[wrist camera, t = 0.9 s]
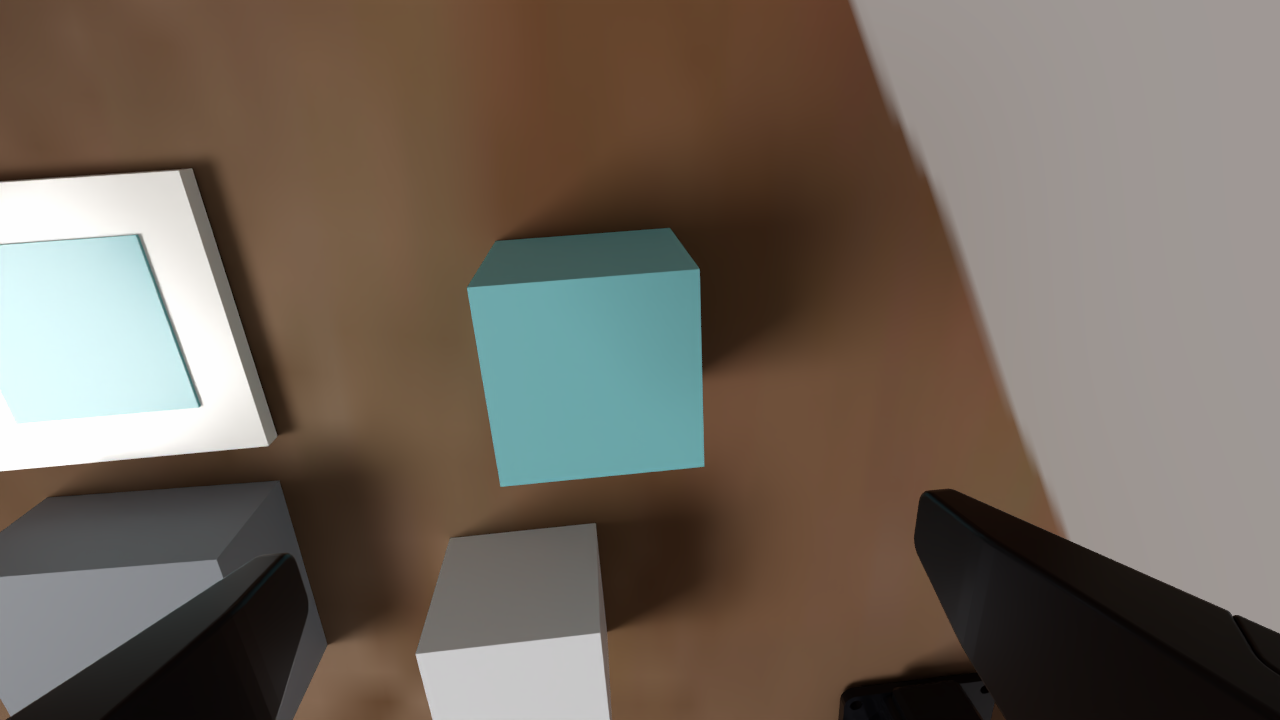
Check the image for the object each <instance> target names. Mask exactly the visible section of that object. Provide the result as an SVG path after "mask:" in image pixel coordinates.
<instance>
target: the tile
mask: <svg viewBox="0 0 1280 720" xmlns="http://www.w3.org/2000/svg"><path fill="white" fill-rule="evenodd" d="M276 437H277V433H276V430H275V427H274V424H273V421H272V417H271V414H270V411H269V408H268V405H267V402H266V399H265V395H264V392H263V389H262V386H261V383H260V380H259V377H258V374H257V370H256V367H255V364H254V361H253V358H252V355H251V352H250V348H249V345H248V342H247V339H246V336H245V333H244V330H243V326H242V323H241V320H240V317H239V314H238V311H237V308H236V304H235V301H234V298H233V295H232V292H231V289H230V286H229V282H228V279H227V276H226V273H225V270H224V267H223V264H222V261H221V257H220V254H219V251H218V248H217V245H216V242H215V239H214V235H213V232H212V229H211V226H210V223H209V220H208V217H207V213H206V210H205V207H204V204H203V201H202V198H201V195H200V191H199V188H198V185H197V182H196V179H195V176H194V173H193V170H192V168H189V169H175V170H160V171H145V172H130V173H115V174H100V175H85V176H70V177H55V178H40V179H26V180H11V181H0V471H7V470H18V469H29V468H39V467H50V466H61V465H72V464H82V463H93V462H104V461H114V460H125V459H136V458H146V457H157V456H168V455H179V454H189V453H200V452H211V451H221V450H232V449H243V448H253V447H264V446H269V445H270V444H271V443H272V442H273V441H274V440H275V439H276Z"/></svg>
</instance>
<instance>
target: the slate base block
mask: <svg viewBox="0 0 1280 720" xmlns="http://www.w3.org/2000/svg"><path fill="white" fill-rule="evenodd" d="M275 553H289V554H291V555H293V556H294V558H295V559H296V562H297V564H298V568H299V571H300V574H301V577H302V580H303V583H304V586H305V589H306V592H307V595H308V600H309V612H308V617H307V621H306V624H305V627H304V631H303V634H302V637H301V640H300V644H299V647H298V650H297V654H296V657H295V660H294V664H293V667H292V670H291V674H290V677H289V680H288V684H287V687H286V690H285V694H284V697H283V700H282V704H281V707H280V710H279V713H278V716H277V719H276V720H293V718H294V716H295V714H296V711H297V709H298V707H299V705H300V703H301V701H302V699H303V696H304V694H305V692H306V690H307V688H308V686H309V683H310V681H311V679H312V677H313V675H314V673H315V671H316V668H317V666H318V664H319V662H320V660H321V658H322V656H323V653H324V651H325V649H326V647H327V642H326V638H325V635H324V631H323V628H322V624H321V621H320V618H319V614H318V611H317V607H316V604H315V601H314V597H313V594H312V590H311V587H310V583H309V580H308V577H307V573H306V570H305V566H304V563H303V560H302V556H301V553H300V549H299V546H298V542H297V539H296V536H295V532H294V529H293V525H292V522H291V519H290V515H289V512H288V508H287V505H286V501H285V498H284V495H283V491H282V488H281V484H280V481H267V482H253V483H239V484H226V485H212V486H199V487H185V488H171V489H158V490H144V491H130V492H117V493H103V494H89V495H76V496H62V497H48V498H46V499H45V500H43V501H42V502H40V503H39V504H38V505H36V506H35V507H34V508H32V509H31V510H30V511H28V512H27V513H26V514H24V515H23V516H22V517H20V518H19V519H18V520H16V521H15V522H13V523H12V524H11V525H9V526H8V527H7V528H5V529H4V530H3V531H1V532H0V699H1V700H2V702H3V704H4V706H5V707H6V709H7V711H8V712H9V714H10V716H12V715H14V714H15V713H17V712H19V711H20V710H22V709H23V708H25V707H26V706H28V705H29V704H31V703H32V702H34V701H35V700H37V699H39V698H40V697H42V696H43V695H45V694H46V693H48V692H49V691H51V690H52V689H54V688H55V687H57V686H58V685H60V684H62V683H63V682H65V681H66V680H68V679H69V678H71V677H72V676H74V675H75V674H77V673H78V672H80V671H82V670H83V669H85V668H86V667H88V666H89V665H91V664H92V663H94V662H95V661H97V660H98V659H100V658H101V657H103V656H105V655H106V654H108V653H109V652H111V651H112V650H114V649H115V648H117V647H118V646H120V645H121V644H123V643H125V642H126V641H128V640H129V639H131V638H132V637H134V636H135V635H137V634H138V633H140V632H141V631H143V630H145V629H146V628H148V627H149V626H151V625H152V624H154V623H155V622H157V621H158V620H160V619H161V618H163V617H164V616H166V615H168V614H169V613H171V612H172V611H174V610H175V609H177V608H178V607H180V606H181V605H183V604H184V603H186V602H188V601H189V600H191V599H192V598H194V597H195V596H197V595H198V594H200V593H201V592H203V591H204V590H206V589H207V588H209V587H211V586H212V585H214V584H215V583H217V582H218V581H220V580H221V579H223V578H224V577H226V576H227V575H229V574H231V573H232V572H234V571H235V570H237V569H238V568H240V567H241V566H243V565H244V564H246V563H247V562H249V561H251V560H252V559H254V558H255V557H257V556H260V555H265V554H275Z"/></svg>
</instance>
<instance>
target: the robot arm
mask: <svg viewBox="0 0 1280 720" xmlns="http://www.w3.org/2000/svg"><path fill="white" fill-rule="evenodd" d="M914 543H915V548H916V551H917V554H918V556H919V558H920V561H921V563H922V565H923V567H924V569H925V571H926V573H927V575H928V577H929V579H930V582H931V584H932V586H933V588H934V590H935V592H936V594H937V596H938V598H939V600H940V603H941V605H942V607H943V609H944V611H945V613H946V615H947V617H948V619H949V621H950V624H951V626H952V628H953V630H954V632H955V634H956V636H957V638H958V640H959V642H960V644H961V646H962V648H963V649H964V651H965V653H966V654H967V656H968V658H969V660H970V661H971V663H972V665H973V666H974V668H975V670H976V671H977V673H971V674H963V675H955V676H947V677H939V678H931V679H923V680H914V681H906V682H898V683H890V684H882V685H874V686H866V687H857V688H851V689H848V690H846V691H845V692H844V693H843V694H842V695H841V698H840V708H839V719H838V720H991V716H992V712H993V707H994V703H996V704H997V706H998V708H999V709H1000V711H1001V712H1002V714H1003V716H1004V717H1005V719H1006V720H1280V634H1279V633H1277V632H1275V631H1272V630H1270V629H1268V628H1266V627H1264V626H1261V625H1259V624H1257V623H1254V622H1252V621H1250V620H1248V619H1246V618H1243V617H1241V616H1239V615H1235V616H1232V615H1231V613H1230V612H1229V611H1227V610H1225V609H1223V608H1220V607H1218V606H1215V605H1214V604H1211V603H1209V602H1207V601H1205V600H1202V599H1200V598H1198V597H1195V596H1193V595H1191V594H1189V593H1186V592H1184V591H1182V590H1180V589H1177V588H1175V587H1173V586H1171V585H1168V584H1166V583H1164V582H1162V581H1159V580H1157V579H1155V578H1152V577H1150V576H1148V575H1146V574H1143V573H1141V572H1139V571H1137V570H1134V569H1132V568H1130V567H1128V566H1125V565H1123V564H1121V563H1118V562H1116V561H1114V560H1112V559H1109V558H1107V557H1105V556H1102V555H1100V554H1098V553H1096V552H1094V551H1091V550H1089V549H1087V548H1085V547H1082V546H1080V545H1078V544H1075V543H1073V542H1071V541H1069V540H1066V539H1064V538H1062V537H1060V536H1057V535H1055V534H1053V533H1051V532H1048V531H1046V530H1044V529H1042V528H1039V527H1037V526H1035V525H1033V524H1030V523H1028V522H1026V521H1023V520H1021V519H1019V518H1017V517H1014V516H1012V515H1010V514H1008V513H1005V512H1003V511H1001V510H999V509H996V508H994V507H992V506H990V505H987V504H985V503H983V502H981V501H978V500H976V499H974V498H971V497H969V496H967V495H965V494H962V493H960V492H958V491H956V490H953V489H939V490H929V491H925V492H924V493H923V494H922V495H921V497H920V500H919V505H918V512H917V519H916V527H915V534H914ZM308 612H309V600H308V595H307V592H306V589H305V586H304V583H303V580H302V577H301V574H300V571H299V568H298V564H297V562H296V559H295V558H294V556H293V555H291V554H289V553H275V554H265V555H260V556H257V557H255V558H254V559H252V560H251V561H249V562H247V563H246V564H244V565H243V566H241V567H240V568H238V569H237V570H235V571H234V572H232V573H231V574H229V575H227V576H226V577H224V578H223V579H221V580H220V581H218V582H217V583H215V584H214V585H212V586H211V587H209V588H207V589H206V590H204V591H203V592H201V593H200V594H198V595H197V596H195V597H194V598H192V599H191V600H189V601H188V602H186V603H184V604H183V605H181V606H180V607H178V608H177V609H175V610H174V611H172V612H171V613H169V614H168V615H166V616H164V617H163V618H161V619H160V620H158V621H157V622H155V623H154V624H152V625H151V626H149V627H148V628H146V629H145V630H143V631H141V632H140V633H138V634H137V635H135V636H134V637H132V638H131V639H129V640H128V641H126V642H125V643H123V644H121V645H120V646H118V647H117V648H115V649H114V650H112V651H111V652H109V653H108V654H106V655H105V656H103V657H101V658H100V659H98V660H97V661H95V662H94V663H92V664H91V665H89V666H88V667H86V668H85V669H83V670H82V671H80V672H78V673H77V674H75V675H74V676H72V677H71V678H69V679H68V680H66V681H65V682H63V683H62V684H60V685H58V686H57V687H55V688H54V689H52V690H51V691H49V692H48V693H46V694H45V695H43V696H42V697H40V698H39V699H37V700H35V701H34V702H32V703H31V704H29V705H28V706H26V707H25V708H23V709H22V710H20V711H19V712H17V713H15V714H14V715H12V716H11V717H9V718H8V719H6V720H276V719H277V716H278V713H279V710H280V707H281V704H282V700H283V697H284V694H285V690H286V687H287V684H288V680H289V677H290V674H291V670H292V667H293V664H294V660H295V657H296V654H297V650H298V647H299V644H300V640H301V637H302V634H303V631H304V627H305V624H306V621H307V617H308Z"/></svg>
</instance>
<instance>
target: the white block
mask: <svg viewBox="0 0 1280 720" xmlns="http://www.w3.org/2000/svg"><path fill="white" fill-rule="evenodd" d="M416 658H417V661H418V665H419V669H420V673H421V677H422V680H423V684H424V688H425V692H426V696H427V700H428V703H429V707H430V711H431V715H432V719H433V720H612V715H611V696H610V677H609V659H608V640H607V626H606V617H605V607H604V597H603V588H602V578H601V569H600V559H599V549H598V540H597V530H596V523H591V524H581V525H572V526H562V527H553V528H543V529H533V530H524V531H514V532H504V533H495V534H485V535H475V536H466V537H456V538H450V540H449V543H448V547H447V550H446V553H445V557H444V560H443V563H442V567H441V570H440V574H439V577H438V580H437V584H436V587H435V590H434V594H433V597H432V601H431V604H430V607H429V611H428V614H427V617H426V621H425V624H424V628H423V631H422V634H421V638H420V641H419V644H418V648H417V651H416Z"/></svg>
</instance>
